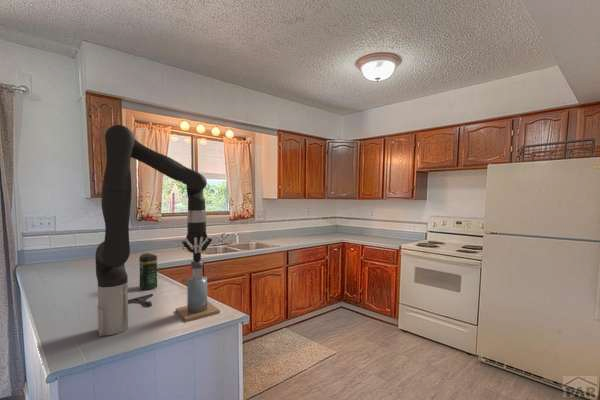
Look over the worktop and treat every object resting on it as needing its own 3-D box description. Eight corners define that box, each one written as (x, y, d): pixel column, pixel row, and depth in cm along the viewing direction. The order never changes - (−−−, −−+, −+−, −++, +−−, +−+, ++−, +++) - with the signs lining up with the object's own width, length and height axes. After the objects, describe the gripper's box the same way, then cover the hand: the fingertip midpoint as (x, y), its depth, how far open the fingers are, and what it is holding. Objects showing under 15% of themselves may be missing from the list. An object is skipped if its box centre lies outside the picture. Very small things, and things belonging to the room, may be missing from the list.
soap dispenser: (185, 322, 113) (185, 273, 113) (175, 311, 124) (175, 266, 124) (219, 312, 122) (219, 267, 122) (207, 303, 133) (207, 262, 133)
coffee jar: (159, 288, 155) (159, 254, 155) (143, 291, 150) (143, 256, 150) (153, 284, 162) (153, 251, 162) (137, 287, 157) (137, 253, 157)
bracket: (133, 313, 124) (133, 306, 124) (119, 305, 133) (119, 299, 133) (166, 303, 135) (166, 297, 135) (151, 296, 144) (151, 291, 144)
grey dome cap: (196, 283, 117) (196, 264, 117) (189, 278, 123) (189, 261, 123) (208, 280, 120) (208, 263, 120) (201, 276, 126) (200, 259, 126)
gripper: (183, 222, 115) (183, 265, 116) (215, 220, 124) (215, 260, 124) (177, 221, 121) (178, 262, 121) (208, 219, 130) (208, 258, 130)
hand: (197, 261), depth 123 cm, fingers closed
